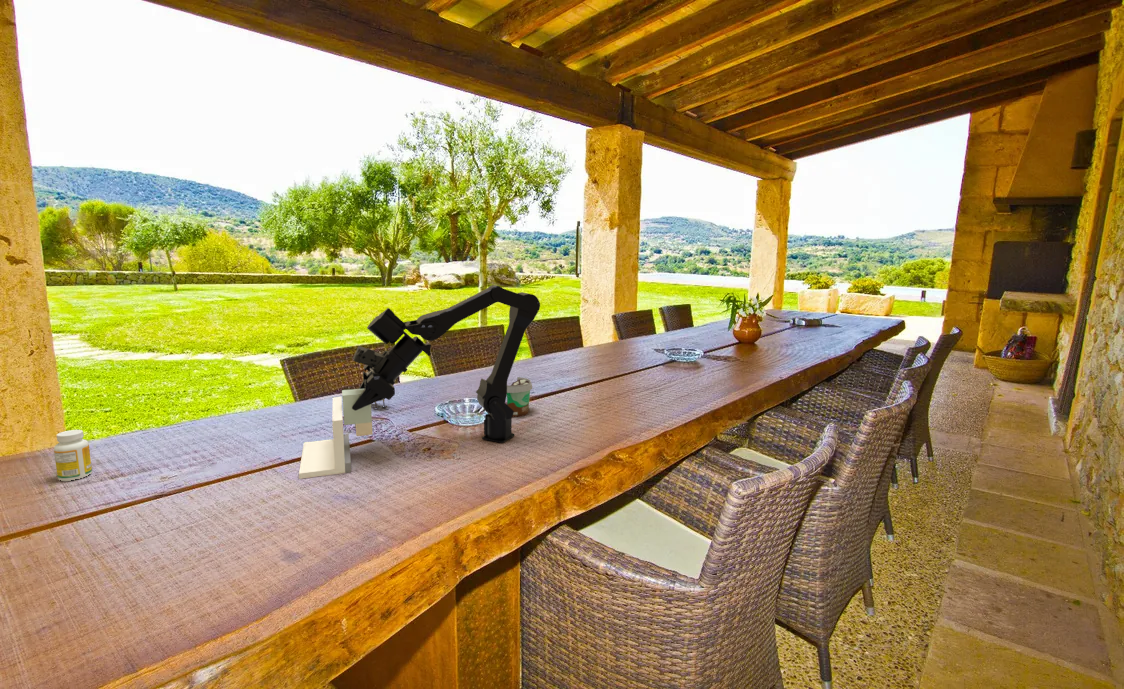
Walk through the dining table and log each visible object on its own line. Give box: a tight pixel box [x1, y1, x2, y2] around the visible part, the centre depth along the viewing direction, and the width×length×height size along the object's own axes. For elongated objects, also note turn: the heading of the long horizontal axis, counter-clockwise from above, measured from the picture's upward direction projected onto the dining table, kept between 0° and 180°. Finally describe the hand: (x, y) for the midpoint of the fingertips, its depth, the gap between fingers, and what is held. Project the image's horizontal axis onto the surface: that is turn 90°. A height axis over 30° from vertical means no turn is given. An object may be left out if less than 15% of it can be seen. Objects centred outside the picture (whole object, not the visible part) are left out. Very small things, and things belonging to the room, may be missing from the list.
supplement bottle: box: [53, 429, 93, 482], centre depth 108 cm, size 5×5×10 cm
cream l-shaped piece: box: [298, 396, 352, 480], centre depth 120 cm, size 10×20×12 cm, turn 23°
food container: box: [506, 376, 533, 418], centre depth 158 cm, size 12×6×10 cm, turn 168°
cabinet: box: [341, 388, 374, 437], centre depth 122 cm, size 6×5×10 cm
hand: (353, 406), depth 121 cm, fingers closed on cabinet, 5 cm apart
